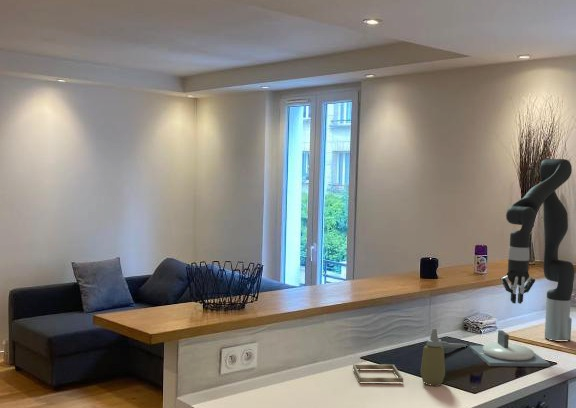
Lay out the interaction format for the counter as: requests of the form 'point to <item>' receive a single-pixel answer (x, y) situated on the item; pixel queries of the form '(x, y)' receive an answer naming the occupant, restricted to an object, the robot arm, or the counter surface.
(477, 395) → the counter surface
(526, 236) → the robot arm
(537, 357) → the dial plate
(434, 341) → the squeeze bottle
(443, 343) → the caliper
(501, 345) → the dial
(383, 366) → the bread board rim
